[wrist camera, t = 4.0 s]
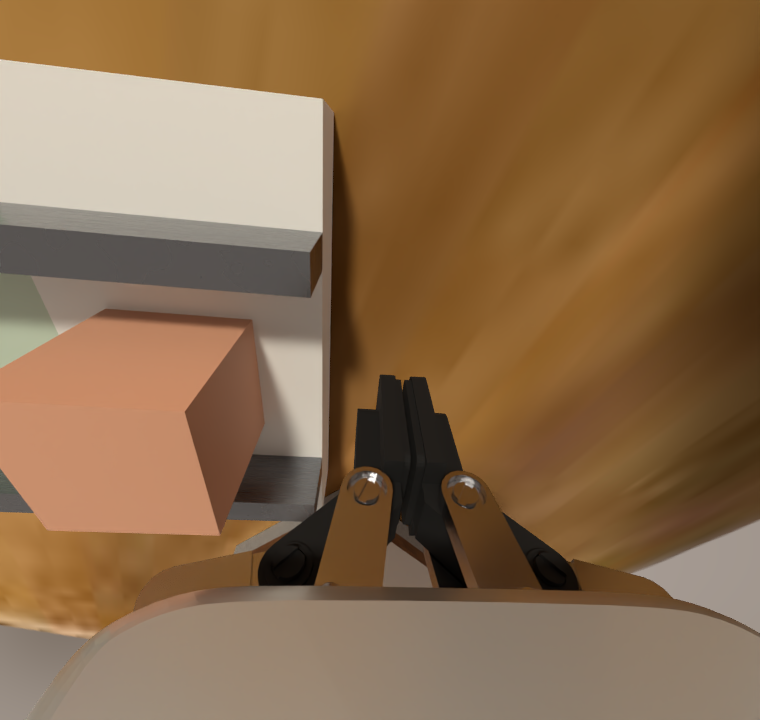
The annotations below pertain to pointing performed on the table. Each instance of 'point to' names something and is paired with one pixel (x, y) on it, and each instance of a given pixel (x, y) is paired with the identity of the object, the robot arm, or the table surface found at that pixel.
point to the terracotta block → (133, 422)
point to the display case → (400, 563)
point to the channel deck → (177, 212)
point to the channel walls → (185, 270)
